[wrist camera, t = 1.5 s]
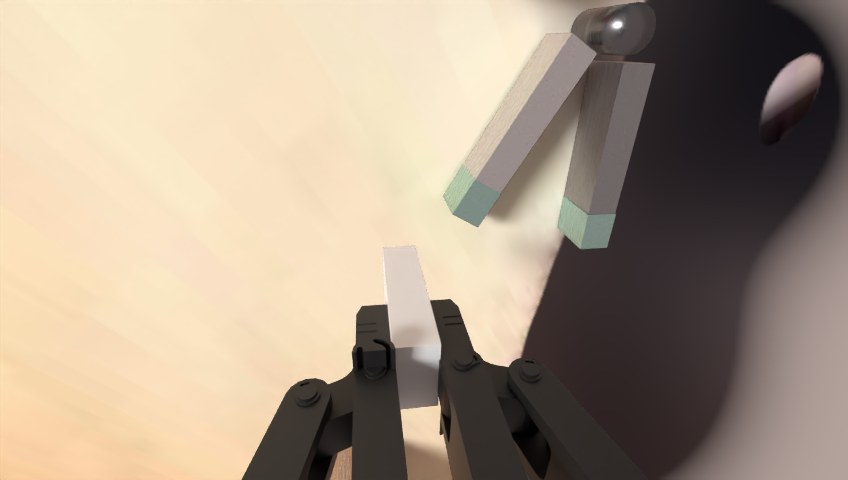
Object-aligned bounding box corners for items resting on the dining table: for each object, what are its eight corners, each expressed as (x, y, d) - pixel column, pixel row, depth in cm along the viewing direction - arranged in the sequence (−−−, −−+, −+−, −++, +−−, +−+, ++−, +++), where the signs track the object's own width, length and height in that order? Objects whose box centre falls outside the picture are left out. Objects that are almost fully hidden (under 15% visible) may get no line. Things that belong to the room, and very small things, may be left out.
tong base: (574, 8, 29) (617, 1, 24) (630, 10, 29) (684, 4, 24) (537, 228, 37) (563, 256, 32) (581, 226, 37) (613, 253, 33)
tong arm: (545, 33, 29) (571, 32, 25) (569, 52, 30) (598, 54, 26) (442, 195, 34) (452, 214, 30) (465, 208, 34) (477, 227, 31)
